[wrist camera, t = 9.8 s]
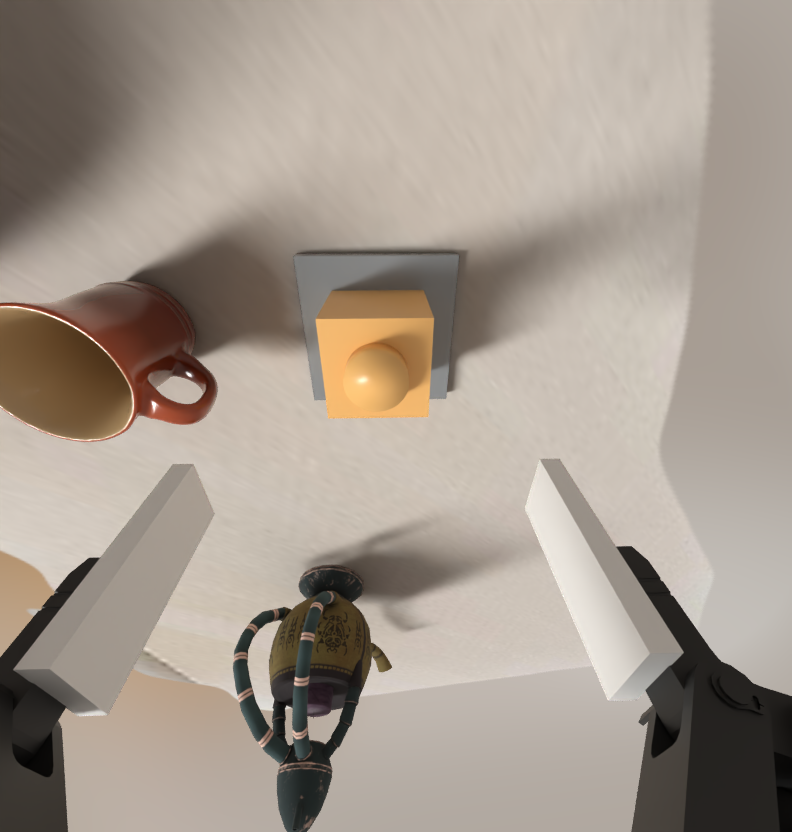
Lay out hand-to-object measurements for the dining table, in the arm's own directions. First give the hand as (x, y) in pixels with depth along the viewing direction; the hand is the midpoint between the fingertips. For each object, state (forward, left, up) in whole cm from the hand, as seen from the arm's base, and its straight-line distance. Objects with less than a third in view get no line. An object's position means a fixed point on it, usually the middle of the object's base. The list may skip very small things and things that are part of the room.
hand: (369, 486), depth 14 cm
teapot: (+40, -6, -19) cm, 45 cm away
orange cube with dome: (0, 0, -17) cm, 17 cm away
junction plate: (0, 0, -18) cm, 18 cm away
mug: (0, -17, -19) cm, 25 cm away
